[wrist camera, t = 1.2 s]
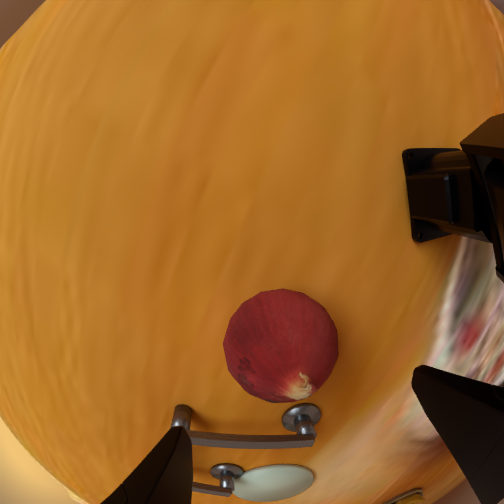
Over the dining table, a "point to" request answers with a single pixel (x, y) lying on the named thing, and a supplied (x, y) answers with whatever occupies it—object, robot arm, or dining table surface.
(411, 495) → the toy sandwich meal
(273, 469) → the coaster
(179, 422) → the rail
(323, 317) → the onion
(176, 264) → the dining table surface
